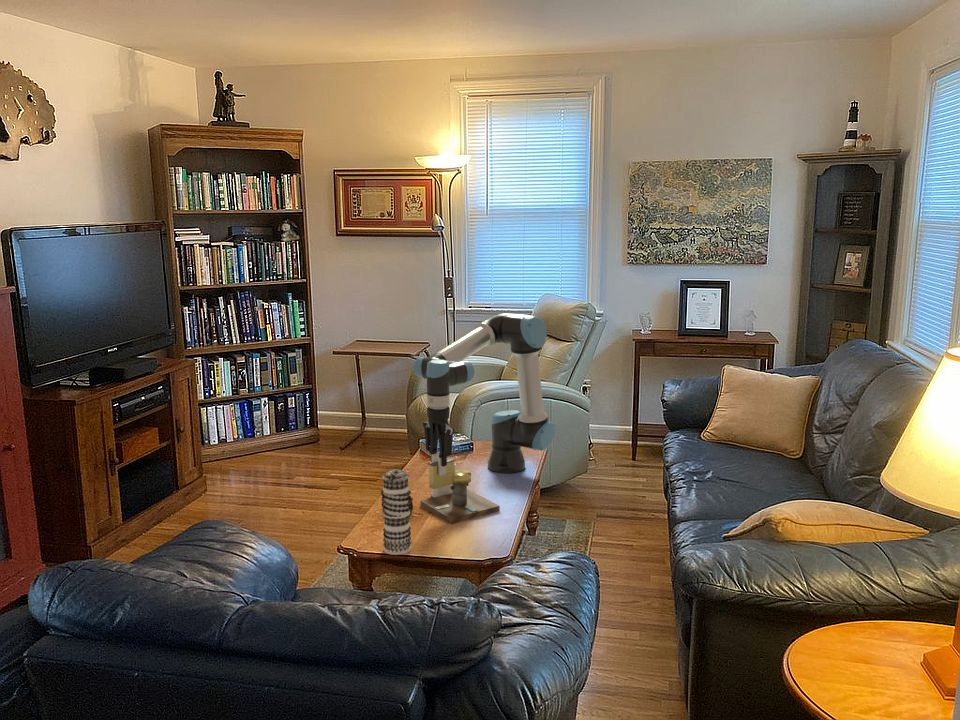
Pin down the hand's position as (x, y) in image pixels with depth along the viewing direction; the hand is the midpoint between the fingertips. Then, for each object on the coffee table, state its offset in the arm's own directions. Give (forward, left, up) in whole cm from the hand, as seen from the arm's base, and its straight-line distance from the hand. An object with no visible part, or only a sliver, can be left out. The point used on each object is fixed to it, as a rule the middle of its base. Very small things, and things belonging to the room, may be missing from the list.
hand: (438, 473), depth 269 cm
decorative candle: (+25, +16, -15) cm, 34 cm away
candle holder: (-11, -15, -15) cm, 24 cm away
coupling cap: (-5, 0, -5) cm, 7 cm away
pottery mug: (+11, -9, -15) cm, 20 cm away
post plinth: (-9, -1, -15) cm, 17 cm away
